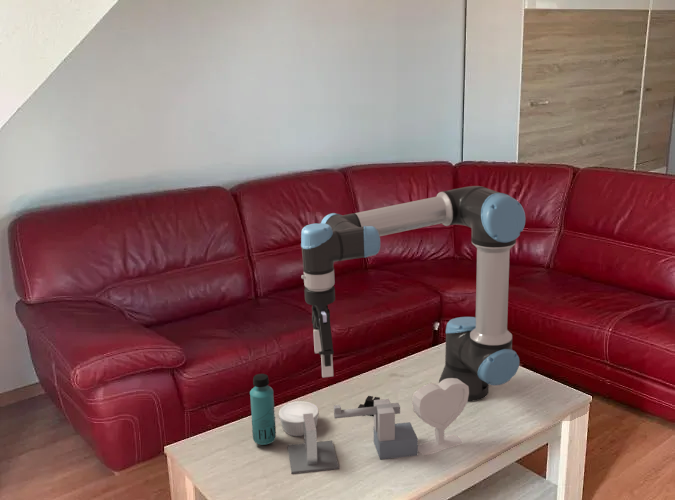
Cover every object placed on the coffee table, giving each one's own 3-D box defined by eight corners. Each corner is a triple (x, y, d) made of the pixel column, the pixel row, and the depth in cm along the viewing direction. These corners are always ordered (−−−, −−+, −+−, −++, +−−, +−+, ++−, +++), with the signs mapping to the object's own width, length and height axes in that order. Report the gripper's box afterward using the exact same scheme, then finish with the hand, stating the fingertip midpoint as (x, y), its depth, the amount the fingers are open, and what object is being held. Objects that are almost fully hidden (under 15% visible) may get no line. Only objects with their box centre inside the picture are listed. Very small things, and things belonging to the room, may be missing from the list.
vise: (409, 438, 182) (410, 391, 178) (417, 455, 174) (418, 406, 170) (333, 446, 179) (332, 399, 175) (337, 464, 171) (336, 415, 167)
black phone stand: (396, 410, 197) (396, 396, 196) (389, 422, 191) (389, 408, 189) (356, 403, 201) (356, 389, 200) (348, 415, 195) (348, 401, 193)
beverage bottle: (256, 452, 177) (252, 384, 171) (249, 439, 183) (245, 373, 177) (280, 446, 180) (276, 379, 174) (272, 433, 185) (268, 368, 179)
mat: (332, 442, 181) (332, 440, 181) (338, 468, 170) (338, 466, 169) (287, 446, 179) (287, 444, 179) (291, 474, 168) (291, 471, 168)
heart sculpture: (420, 457, 173) (421, 395, 168) (409, 447, 178) (410, 386, 172) (468, 441, 180) (471, 381, 175) (457, 432, 184) (459, 373, 179)
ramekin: (283, 441, 182) (282, 424, 180) (276, 420, 192) (275, 404, 191) (323, 435, 185) (323, 418, 183) (314, 414, 195) (313, 398, 193)
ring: (313, 446, 178) (312, 413, 175) (317, 464, 171) (316, 429, 168) (304, 447, 178) (303, 414, 175) (307, 465, 170) (306, 430, 167)
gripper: (298, 271, 177) (303, 344, 183) (311, 306, 153) (315, 389, 160) (326, 268, 178) (330, 341, 184) (343, 303, 154) (346, 385, 161)
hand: (323, 363), depth 172 cm, fingers open, 13 cm apart
